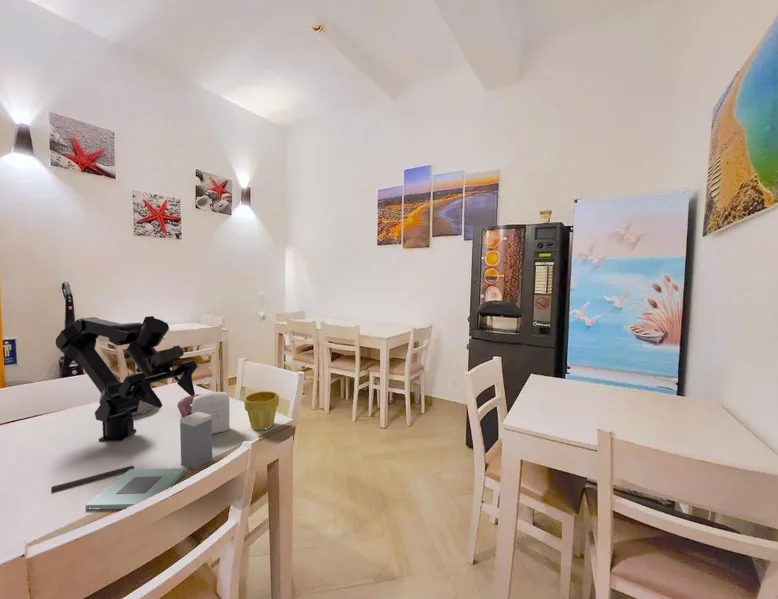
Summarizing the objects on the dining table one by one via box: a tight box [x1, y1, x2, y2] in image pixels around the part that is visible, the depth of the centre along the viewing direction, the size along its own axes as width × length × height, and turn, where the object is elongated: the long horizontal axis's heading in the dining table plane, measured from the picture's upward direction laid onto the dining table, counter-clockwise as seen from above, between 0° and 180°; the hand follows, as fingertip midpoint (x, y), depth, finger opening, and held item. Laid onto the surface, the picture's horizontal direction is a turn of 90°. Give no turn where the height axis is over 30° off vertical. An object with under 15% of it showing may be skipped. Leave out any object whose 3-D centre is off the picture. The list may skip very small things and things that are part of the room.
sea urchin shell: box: [132, 401, 155, 417], centre depth 119 cm, size 13×14×8 cm
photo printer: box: [191, 391, 230, 435], centre depth 104 cm, size 10×4×12 cm, turn 123°
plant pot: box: [243, 390, 280, 430], centre depth 109 cm, size 10×10×10 cm
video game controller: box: [177, 393, 203, 418], centre depth 119 cm, size 10×5×7 cm, turn 144°
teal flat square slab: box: [85, 467, 186, 510], centre depth 76 cm, size 13×13×1 cm
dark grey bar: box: [50, 465, 135, 493], centre depth 80 cm, size 15×1×1 cm, turn 128°
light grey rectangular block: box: [179, 412, 213, 470], centre depth 87 cm, size 5×5×12 cm
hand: (178, 400), depth 91 cm, fingers open, 9 cm apart
